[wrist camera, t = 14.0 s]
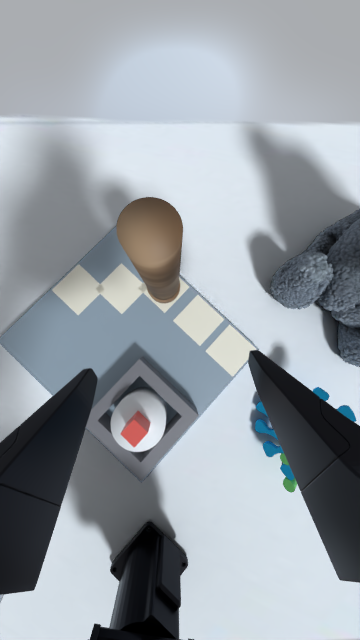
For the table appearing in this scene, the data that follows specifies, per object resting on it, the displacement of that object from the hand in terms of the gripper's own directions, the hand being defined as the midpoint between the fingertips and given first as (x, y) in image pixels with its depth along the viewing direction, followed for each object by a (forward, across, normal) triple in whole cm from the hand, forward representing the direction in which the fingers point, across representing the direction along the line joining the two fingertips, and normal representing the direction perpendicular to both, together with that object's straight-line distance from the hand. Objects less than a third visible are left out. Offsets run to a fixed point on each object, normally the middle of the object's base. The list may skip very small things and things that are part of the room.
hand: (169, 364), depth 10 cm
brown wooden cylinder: (+14, +1, +1) cm, 14 cm away
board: (+10, +6, +7) cm, 13 cm away
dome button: (+4, +5, +12) cm, 14 cm away
